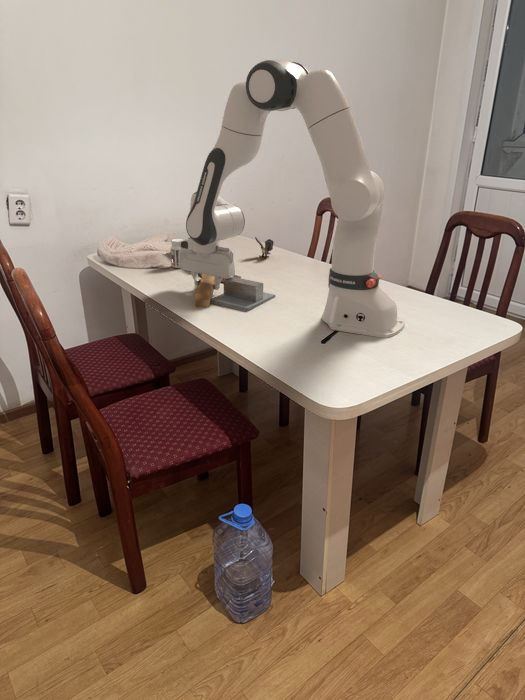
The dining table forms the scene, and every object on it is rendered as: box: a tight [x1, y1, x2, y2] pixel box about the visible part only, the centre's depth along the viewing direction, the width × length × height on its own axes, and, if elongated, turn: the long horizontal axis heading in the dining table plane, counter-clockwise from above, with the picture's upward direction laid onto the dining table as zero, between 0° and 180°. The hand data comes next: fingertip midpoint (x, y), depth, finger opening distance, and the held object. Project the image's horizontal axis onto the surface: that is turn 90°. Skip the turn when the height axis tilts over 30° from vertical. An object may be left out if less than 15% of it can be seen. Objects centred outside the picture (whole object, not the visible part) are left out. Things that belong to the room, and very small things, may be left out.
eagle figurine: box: [254, 237, 275, 260], centre depth 201 cm, size 8×7×9 cm
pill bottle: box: [170, 238, 184, 269], centre depth 189 cm, size 6×6×10 cm
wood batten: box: [194, 274, 216, 308], centre depth 161 cm, size 4×24×4 cm, turn 0°
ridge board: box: [210, 277, 276, 312], centre depth 156 cm, size 14×15×6 cm
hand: (207, 287), depth 163 cm, fingers closed on wood batten, 6 cm apart
